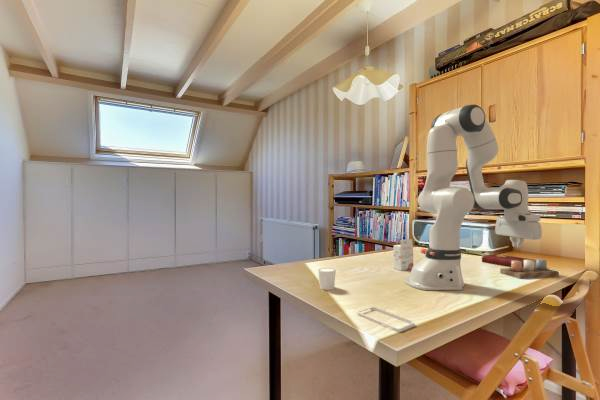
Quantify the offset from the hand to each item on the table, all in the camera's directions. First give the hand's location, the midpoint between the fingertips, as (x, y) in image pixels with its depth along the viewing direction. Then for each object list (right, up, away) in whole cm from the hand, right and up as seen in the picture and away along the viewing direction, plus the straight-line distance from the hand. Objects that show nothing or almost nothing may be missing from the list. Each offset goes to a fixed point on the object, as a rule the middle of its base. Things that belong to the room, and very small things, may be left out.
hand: (516, 247), depth 134 cm
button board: (+6, -12, +1) cm, 14 cm away
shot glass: (-86, -13, -16) cm, 88 cm away
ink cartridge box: (-45, -13, +14) cm, 49 cm away
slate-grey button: (+12, -11, +2) cm, 16 cm away
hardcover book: (+11, -13, +21) cm, 28 cm away
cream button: (+6, -11, +1) cm, 12 cm away
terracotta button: (0, -11, 0) cm, 11 cm away
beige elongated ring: (-72, -14, -48) cm, 88 cm away
